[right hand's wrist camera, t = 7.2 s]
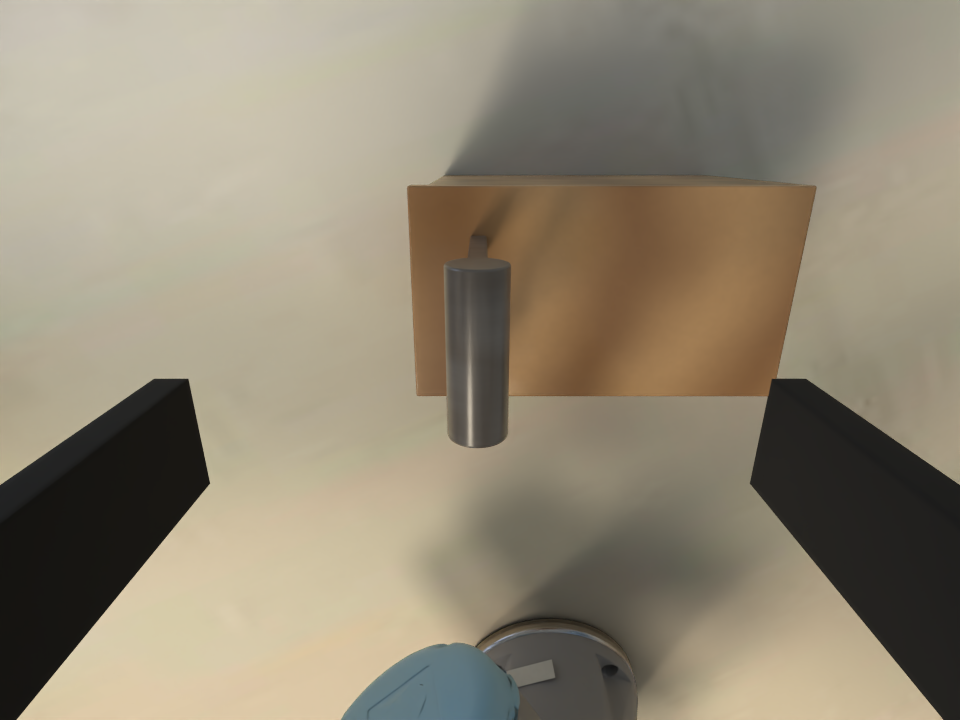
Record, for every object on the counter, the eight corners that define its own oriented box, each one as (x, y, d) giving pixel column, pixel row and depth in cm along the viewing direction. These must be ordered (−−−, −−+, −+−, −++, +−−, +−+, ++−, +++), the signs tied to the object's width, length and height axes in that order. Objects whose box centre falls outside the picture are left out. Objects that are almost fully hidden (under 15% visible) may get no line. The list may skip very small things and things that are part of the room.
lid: (418, 388, 26) (389, 497, 18) (409, 184, 23) (368, 202, 15) (763, 389, 26) (895, 497, 18) (805, 184, 23) (990, 202, 15)
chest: (446, 324, 36) (434, 388, 26) (443, 175, 33) (427, 184, 23) (686, 324, 36) (763, 388, 26) (707, 175, 33) (804, 184, 23)
